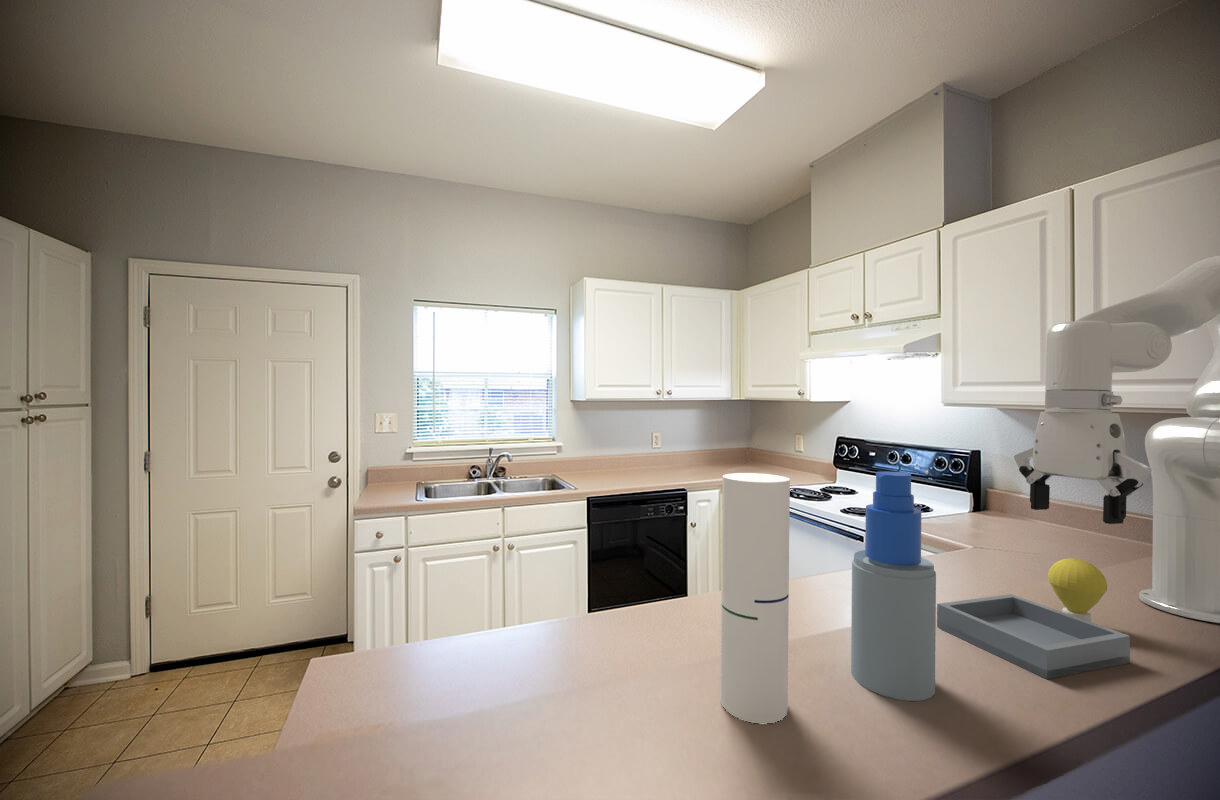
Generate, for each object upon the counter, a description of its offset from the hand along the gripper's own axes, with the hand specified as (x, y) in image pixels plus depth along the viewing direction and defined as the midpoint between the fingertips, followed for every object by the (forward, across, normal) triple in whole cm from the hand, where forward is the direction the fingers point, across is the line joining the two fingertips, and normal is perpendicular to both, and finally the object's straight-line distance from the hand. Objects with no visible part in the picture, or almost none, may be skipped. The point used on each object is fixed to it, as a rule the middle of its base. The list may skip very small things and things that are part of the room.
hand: (1074, 515), depth 78 cm
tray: (+17, -2, +13) cm, 22 cm away
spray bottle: (+18, -5, +39) cm, 43 cm away
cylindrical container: (+18, -5, +58) cm, 61 cm away
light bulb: (+17, 0, -1) cm, 17 cm away
